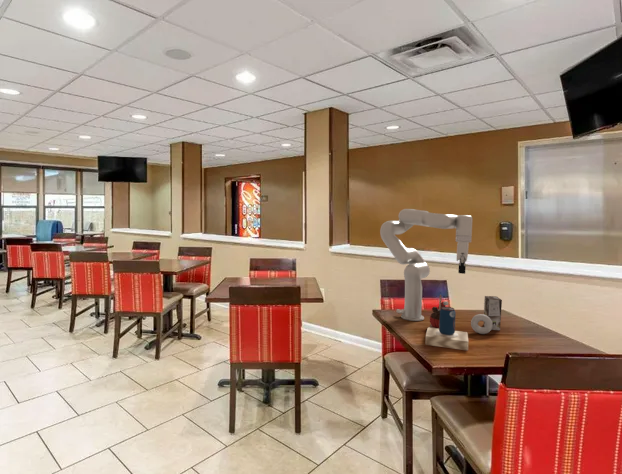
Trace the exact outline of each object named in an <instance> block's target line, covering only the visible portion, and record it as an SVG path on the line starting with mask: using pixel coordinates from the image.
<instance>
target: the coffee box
mask: <svg viewBox="0 0 622 474" xmlns="http://www.w3.org/2000/svg"><path fill="white" fill-rule="evenodd" d="M502 300H503V299H501V298H499V297H498V296H494V295H491V296H490V295H484V303H483V315H486V316H488V317H489V318H490V319H491V321H492V324H493V326H492V329H491V331H492V330H493V331H501V323H502V321H501V320H502V303H503V301H502ZM484 326H485V322H484V321H483V327H484Z"/></svg>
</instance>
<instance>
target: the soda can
mask: <svg viewBox="0 0 622 474" xmlns="http://www.w3.org/2000/svg"><path fill="white" fill-rule="evenodd" d="M456 313H457V312H456V310H455V308H454V307H451V306H445V307H441V310H440V319H439V331H440V333H441V334H443V335H449V336H450V335H453V334H454V333H455V331H456Z"/></svg>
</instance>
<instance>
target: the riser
mask: <svg viewBox="0 0 622 474" xmlns="http://www.w3.org/2000/svg"><path fill="white" fill-rule="evenodd" d="M424 343H425V345H426V346H433V347H442V348H448V349H453V350H462V351H469V334H468V332H467V331H461V330H455V333H454V334H453V335H450V336H449V335H443V334H441V333H440V331H439V329H437V328H430V326H429V327H427V330H426V333H425V342H424Z"/></svg>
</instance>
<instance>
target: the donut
mask: <svg viewBox="0 0 622 474" xmlns="http://www.w3.org/2000/svg"><path fill="white" fill-rule="evenodd" d="M479 322H483V323H484V322H485V326H484V325H483V326H480V325H479ZM470 326H471V328H472V330H473V331H474V332H475V333H477V334H480V335H485V334H486V335H487V334H488V333H490V331H492V330H491V329H492V326H493V324H492V321H491V319H490V318H489V317H488V316H486V315H484V313H483V314H481V313H479V314H475V315H474V316H473V317H472V319H471V321H470Z"/></svg>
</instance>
